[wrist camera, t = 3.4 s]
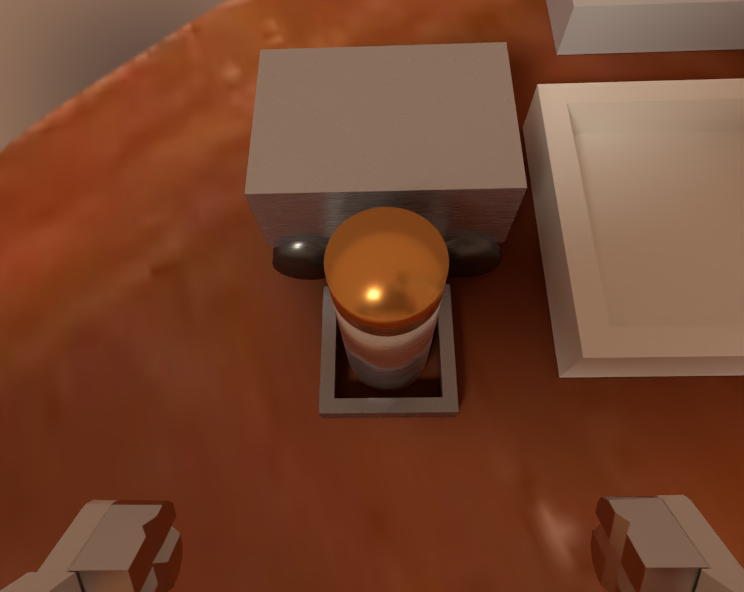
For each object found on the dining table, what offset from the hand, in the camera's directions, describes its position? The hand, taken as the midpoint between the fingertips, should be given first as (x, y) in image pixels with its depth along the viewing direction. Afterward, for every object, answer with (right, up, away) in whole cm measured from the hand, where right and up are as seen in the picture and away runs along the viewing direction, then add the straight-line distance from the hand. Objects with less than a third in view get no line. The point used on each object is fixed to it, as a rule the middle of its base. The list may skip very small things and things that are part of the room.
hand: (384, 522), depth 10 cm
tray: (+14, +7, +14) cm, 22 cm away
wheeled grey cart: (0, +6, +14) cm, 16 cm away
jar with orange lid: (0, +2, +13) cm, 13 cm away
